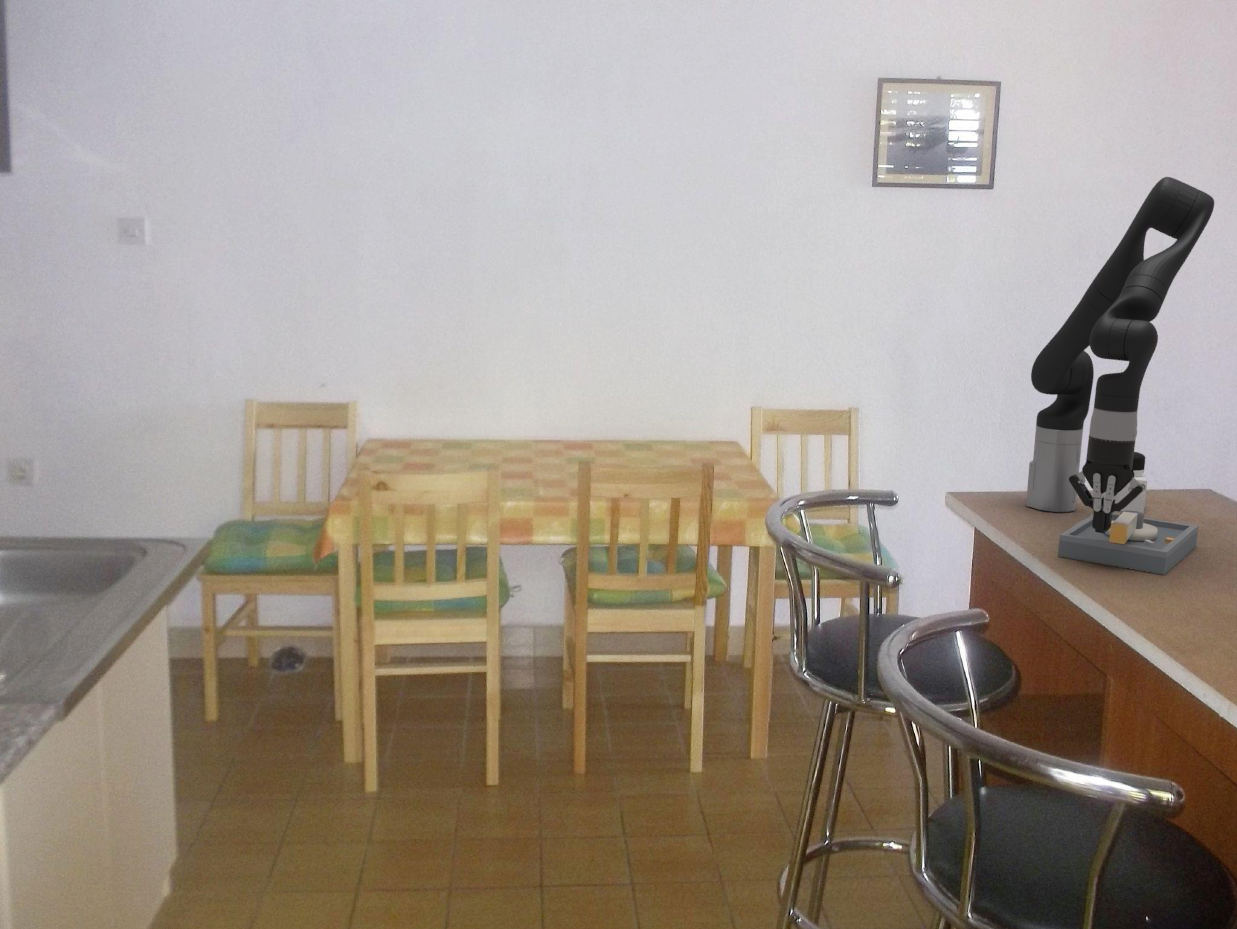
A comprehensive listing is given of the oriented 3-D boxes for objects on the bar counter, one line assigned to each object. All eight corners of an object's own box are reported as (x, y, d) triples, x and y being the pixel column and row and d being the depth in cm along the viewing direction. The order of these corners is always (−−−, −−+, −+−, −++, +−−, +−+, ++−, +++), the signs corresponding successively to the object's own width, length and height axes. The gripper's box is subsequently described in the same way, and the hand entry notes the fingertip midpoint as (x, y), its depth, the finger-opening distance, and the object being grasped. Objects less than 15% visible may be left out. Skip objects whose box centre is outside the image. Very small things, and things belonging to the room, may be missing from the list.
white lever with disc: (1108, 525, 230) (1110, 502, 229) (1160, 533, 225) (1162, 508, 224) (1088, 547, 214) (1091, 521, 214) (1143, 555, 210) (1146, 529, 209)
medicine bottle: (1141, 506, 261) (1147, 450, 258) (1143, 513, 254) (1150, 456, 252) (1105, 503, 263) (1111, 448, 261) (1107, 510, 256) (1112, 454, 254)
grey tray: (1057, 556, 220) (1059, 534, 219) (1096, 530, 239) (1098, 510, 238) (1164, 574, 210) (1166, 552, 209) (1195, 546, 229) (1198, 525, 228)
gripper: (1066, 432, 213) (1056, 529, 216) (1146, 443, 205) (1134, 543, 208) (1079, 427, 218) (1069, 521, 222) (1158, 437, 211) (1146, 534, 214)
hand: (1101, 531), depth 215 cm, fingers closed
